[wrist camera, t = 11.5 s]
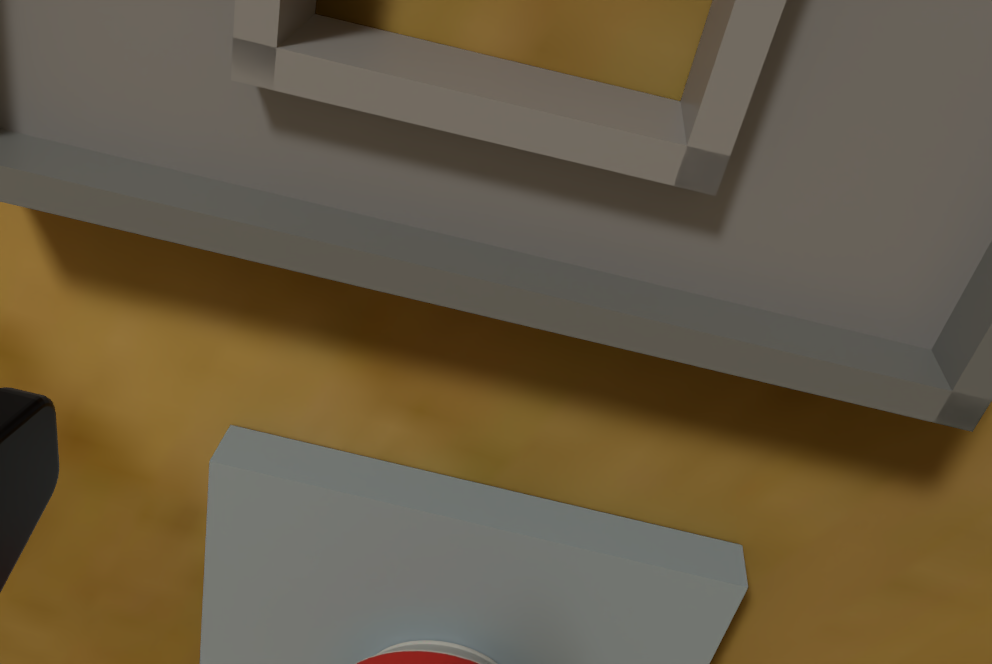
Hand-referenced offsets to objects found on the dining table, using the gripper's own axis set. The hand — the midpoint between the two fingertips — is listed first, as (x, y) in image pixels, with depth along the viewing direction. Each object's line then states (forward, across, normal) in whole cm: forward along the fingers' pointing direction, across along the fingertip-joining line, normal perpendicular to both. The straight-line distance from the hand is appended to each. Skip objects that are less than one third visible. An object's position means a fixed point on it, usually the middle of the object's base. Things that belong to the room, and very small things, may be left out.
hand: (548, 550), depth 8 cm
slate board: (+13, 0, +18) cm, 22 cm away
